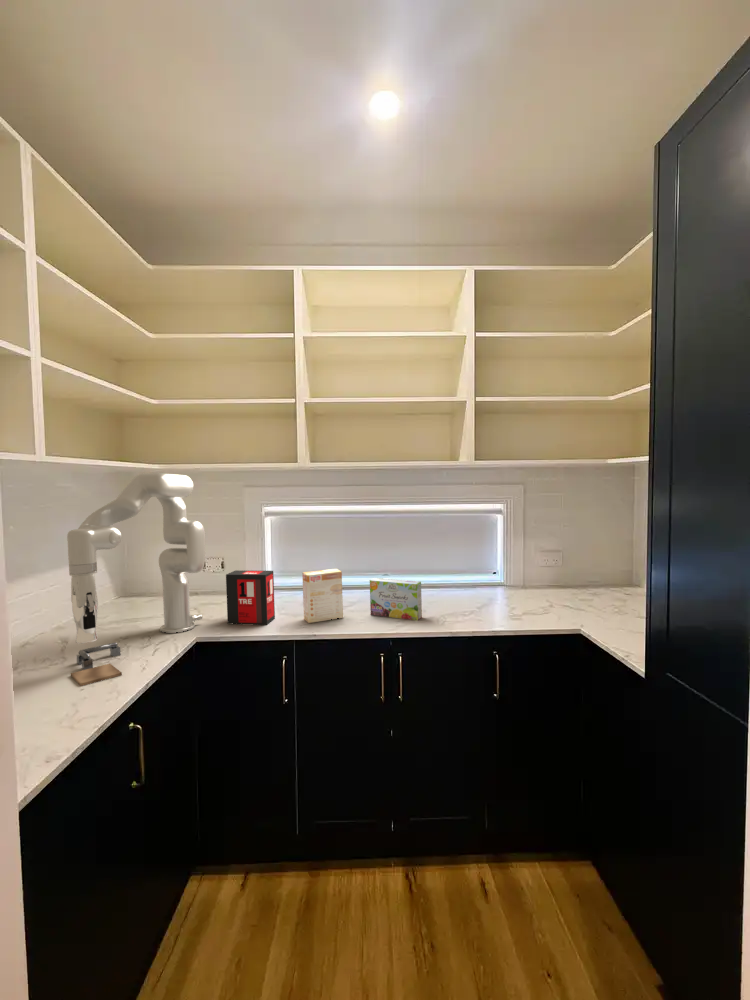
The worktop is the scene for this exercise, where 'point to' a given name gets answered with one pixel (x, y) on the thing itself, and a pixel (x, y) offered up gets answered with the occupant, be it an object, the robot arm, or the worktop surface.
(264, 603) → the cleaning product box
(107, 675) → the walnut board
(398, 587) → the snack box
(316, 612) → the coffeecake box
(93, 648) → the grey metal bent rod
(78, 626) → the beer glass
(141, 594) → the worktop surface
